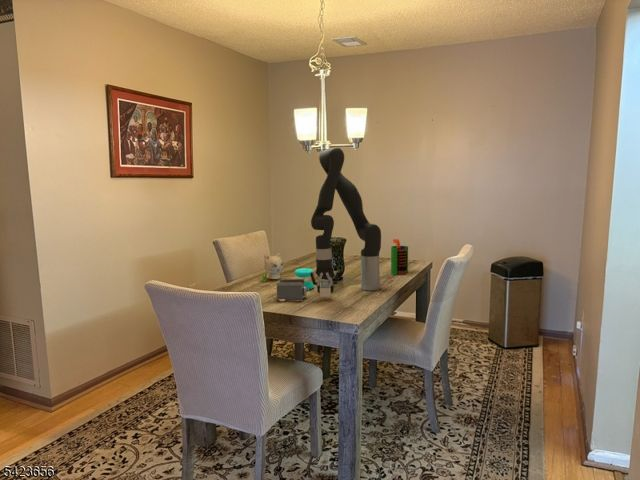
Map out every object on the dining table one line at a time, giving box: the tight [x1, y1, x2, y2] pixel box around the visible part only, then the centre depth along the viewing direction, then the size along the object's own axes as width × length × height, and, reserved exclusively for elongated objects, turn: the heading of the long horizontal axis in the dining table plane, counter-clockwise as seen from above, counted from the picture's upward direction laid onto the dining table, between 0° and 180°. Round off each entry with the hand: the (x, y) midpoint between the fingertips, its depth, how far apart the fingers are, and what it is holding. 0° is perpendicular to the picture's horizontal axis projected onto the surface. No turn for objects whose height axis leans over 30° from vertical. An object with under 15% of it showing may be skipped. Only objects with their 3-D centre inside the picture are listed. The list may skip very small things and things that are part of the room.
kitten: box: [261, 252, 285, 281], centre depth 261 cm, size 15×10×15 cm, turn 129°
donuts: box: [293, 267, 315, 291], centre depth 239 cm, size 10×10×10 cm
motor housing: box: [276, 278, 308, 300], centre depth 221 cm, size 13×10×8 cm
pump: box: [319, 279, 332, 298], centre depth 217 cm, size 5×5×7 cm
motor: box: [390, 238, 409, 276], centre depth 267 cm, size 10×9×20 cm
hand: (325, 293), depth 218 cm, fingers closed on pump, 5 cm apart
